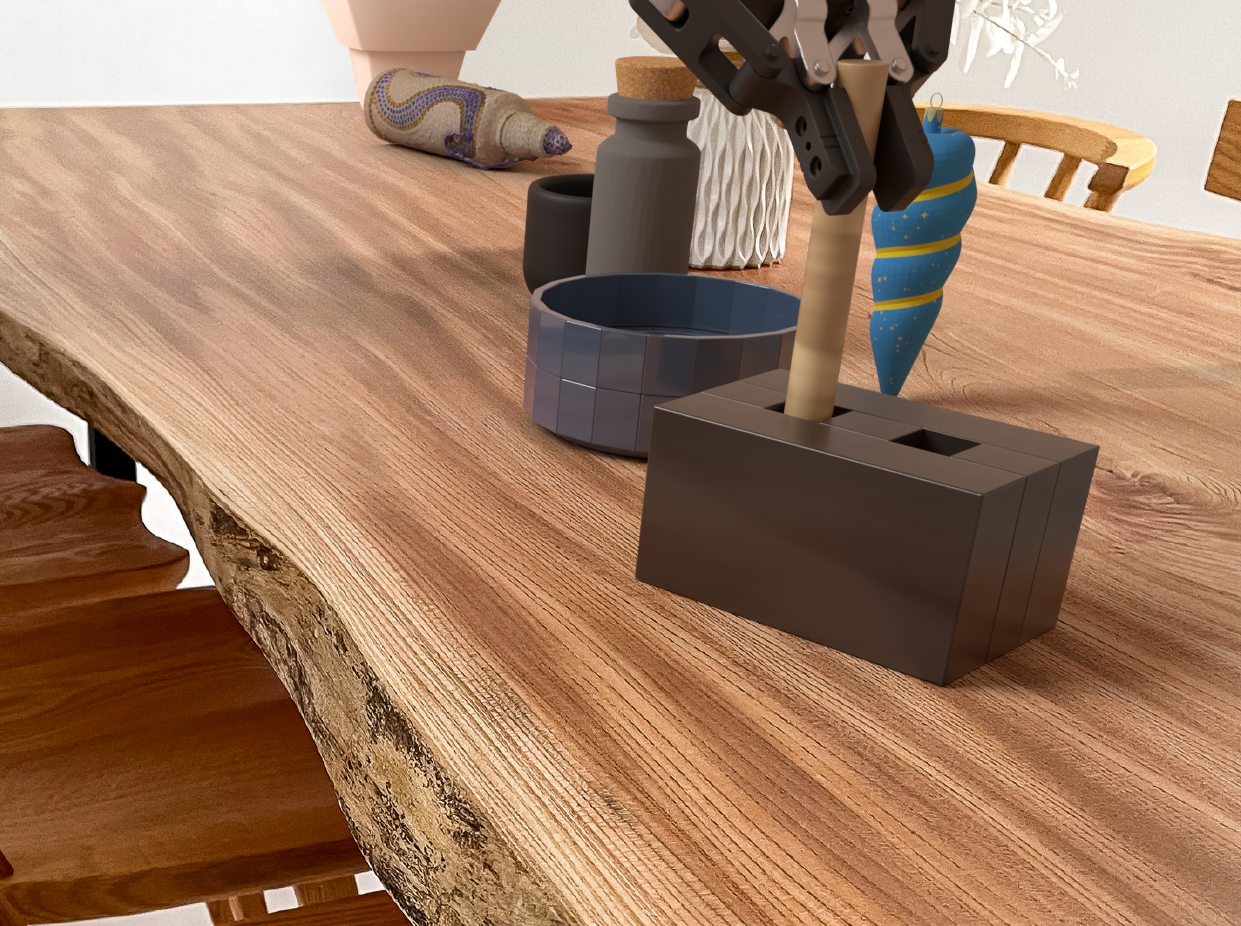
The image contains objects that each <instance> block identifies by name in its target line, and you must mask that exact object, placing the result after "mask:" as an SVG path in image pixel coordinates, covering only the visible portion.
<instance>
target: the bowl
mask: <svg viewBox="0 0 1241 926" xmlns="http://www.w3.org/2000/svg"><path fill="white" fill-rule="evenodd" d="M321 2H322V5H323V7H324V10H325V12H326V15H327V17H328V20H329V22H330V24H331V27H332V29H333V31H334V33H335V36H336V38H337V41H338V42H339V44H341V45H343V46H344V47H345V46H346V47H347V48H348V52H349V53H348V54H349V58H350V62H351V67H352V72H353V76H354V82H355V86H356V91H357V96H358V101H359V105H360V108H361V109H362V111H363V112H364V99H365V93H366V91H367V89H368V87H369V84H370V82H371V81H372V80H373V79H374V78H375V77H376V76H377V75H378V74H379V73H381V72H383V71H385V70H387V69H391V68H407V69H409V70H411V71H414V72H420V73H425V74H429V75H434V76H439V77H445V78H450V79H454V80H455V79H457V80H459V77H460V73H461V70H462V66H463V63H464V59H465V56H466V52H468V51H469V52H471V51H476V50H477V48H478V46H479V45H480V42H481V41H482V38H483V36H484V35H485V33H486V31H487V29H488V27H489V25H490V23H491V21H492V19H493V17H494V15H495V14H496V12H497V10H498V8H499V6H500V4H501V3H502V0H321Z"/></svg>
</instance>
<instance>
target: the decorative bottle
mask: <svg viewBox="0 0 1241 926" xmlns="http://www.w3.org/2000/svg"><path fill="white" fill-rule="evenodd" d="M363 114H364V121H365V124H366V126H367V128H368V129H369V130H370V132H372V134H374V135H375V137H376V138H378V139H379V140H381V141H384V142H387V143H388V144H397V145H400V146H407V147H410V148H412V149H416V150H420V151H424V152H428V153H431V154H436V155H438V156H443V157H445V156H446V157H450V158H452V159H454V160H457V161H458V160H459V161H462V162H464V163H468V164H470V165H472V166H475V167H477V168H479V169H481V170H488V169H507V168H510V167H514V166H515V165H517V164H518V163H520V162H524V161H530V162H534V161H537V160H538V159H539V158H541V159H552V158H555V157H556V156H561V157H562V156H563V155H565V154H568V153H569V152H570V151H571V150H572V149H573V144H572V143H570V140H569V138H568V136H567V135H566V134H565V132H563V131H562V130H561V128H560V127H559V126H557V125H556V124H554V123H549V122H547V121H543V120H542V119H541V118H540V117H539V116H537V115H535V114H534V111H533V109H532V107H531V106H530V104H529V103H528V102H527V101H526V100H525V99H524V98H523V97H522V96H520V95H519V94H516V93H515V92H511V91H506V90H504V89H501V88H500V89H499V88H496V87H491V86H483V85H479V84H478V83H476V82H474V83H472V82H467V81H463V80H460V79H458V80H457V79H455V80H454V79H450V78H445V77H439V76H434V75H429V74H425V73H420V72H414V71H411V70H409V69H407V68H391V69H387V70H385V71H383V72H381V73H379V74H378V75H377V76H376V77H375V78H374V79H373V80H372V81H371V82H370V84H369V87H368V89H367V91H366V93H365V99H364V111H363Z"/></svg>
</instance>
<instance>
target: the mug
mask: <svg viewBox="0 0 1241 926" xmlns="http://www.w3.org/2000/svg"><path fill="white" fill-rule="evenodd" d="M594 175H595V173H568V174H555V175H549V176H544V177H540V178H537V179H534V180H533V181H532V182H530V184H529V186H528V189H527V195H526V211H525V213H526V214H525V224H524V225H525V226H524V240H523V241H524V242H523V255H522V274H523V278H524V281H525V284H526V288H527V289H528V291H529V293H530V294H531V296H532V295H533V293H534V290H535V289H537V288H539V287H542V286H544V285H546V284H548V283H550V282H552V281H556V280H561V279H566V278H571V277H575V276H581V275H586V264H587V252H588V241H589V230H590V219H591V207H592V196H593V185H594Z"/></svg>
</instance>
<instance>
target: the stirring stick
mask: <svg viewBox="0 0 1241 926" xmlns="http://www.w3.org/2000/svg"><path fill="white" fill-rule="evenodd" d="M835 67H836V70H837V76H836V79H835V80H834V82H833V83H832V84H831V88H840V87H845V89H846V91H847V94H848V97H849V99H850V102H851V105H852V107H853V110H854V112H855V115H856V118H857V120H858V123H859V126H860V128H861V131H862V134H863V136H864V139H865V142H866V144H867V147H868V150H869V152H870V155H871V158H872V160H873V163H874V157H875V151H876V145H877V139H878V133H879V127H880V120H881V114H882V108H883V102H884V96H885V90H886V84H887V77H888V71H889V63H888V62H885V61H878V60H871V59H867V58H864V59H842V60H837V61H836V65H835ZM868 199H869V194H868V195H867V196H866V197H865V198H864V199H863V200H862V202H861V203H860V204H859V205H858V206H857V207H856V208H855V209H854V210H853V212H852V213H850V214H848V215H836V216H829V215H827V214H826V213H825V211H824V209H823V206H822V203H821V201H820V200H819V201H817V200H816V199H815V201H814V207H813V208H814V209H813V214H812V221H811V227H810V234H809V240H808V246H807V247H808V248H807V255H806V261H805V269H804V274H803V281H802V288H801V294H800V295H801V301H800V308H799V315H798V322H797V328H796V335H795V342H794V348H793V355H792V362H791V369H790V375H789V382H788V389H787V396H786V402H785V409H784V414H786V415H790V416H794V417H798V418H802V419H806V420H809V421H813V422H817V423H819V422H822V421H825V420H828V419H831V418H832V415H833V409H834V403H835V397H836V391H837V384H838V383H839V378H840V372H841V371H840V370H841V366H842V359H843V353H844V347H845V343H846V342H845V341H846V334H847V329H848V323H849V321H848V320H849V318H850V317H849V316H850V310H851V304H852V297H853V291H854V286H855V279H856V273H857V267H858V261H859V254H860V250H861V249H860V248H861V242H862V238H863V231H864V225H865V219H866V218H865V217H866V212H867V207H868Z"/></svg>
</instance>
